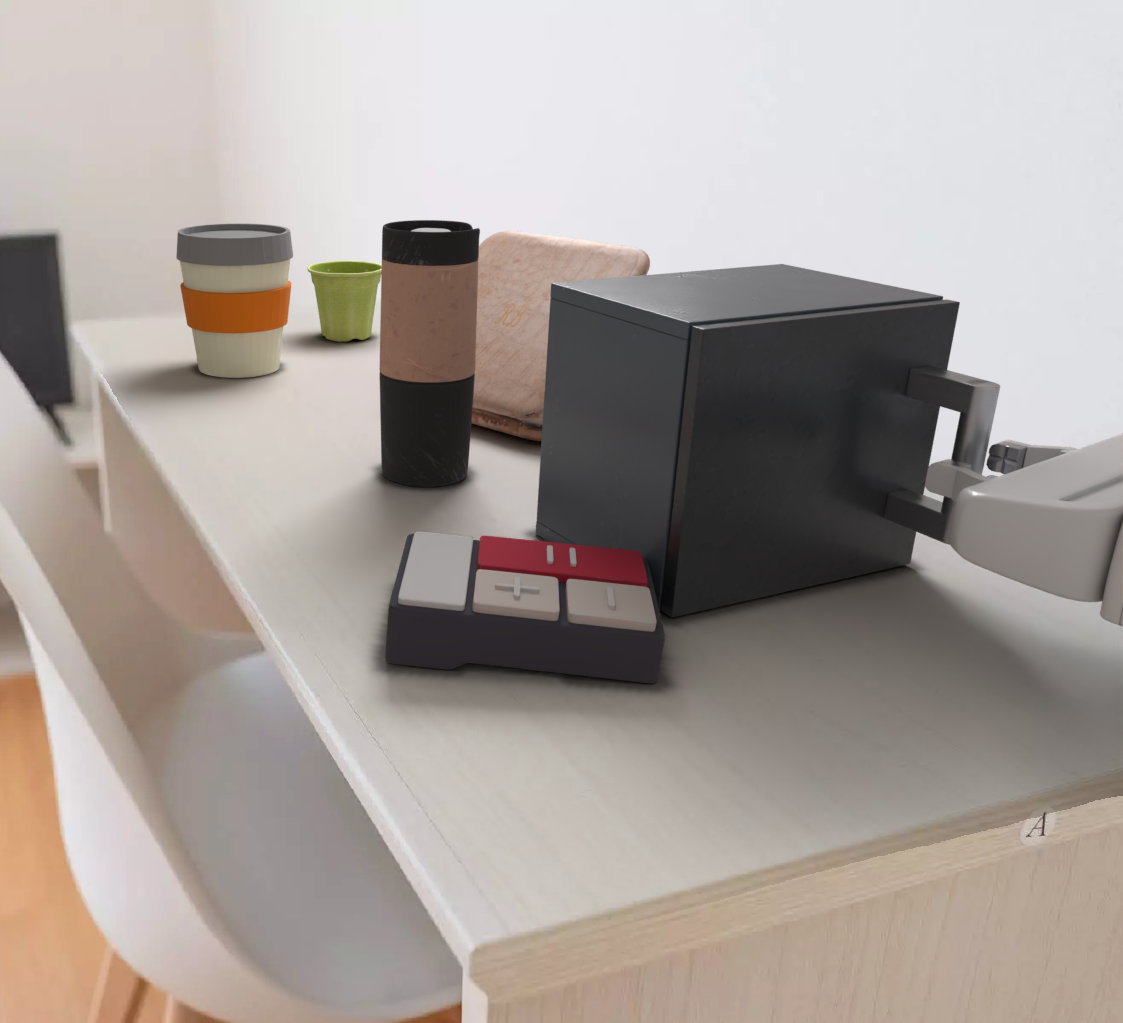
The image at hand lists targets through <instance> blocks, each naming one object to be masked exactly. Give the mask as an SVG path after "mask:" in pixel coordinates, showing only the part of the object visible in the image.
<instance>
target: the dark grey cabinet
mask: <svg viewBox="0 0 1123 1023" xmlns="http://www.w3.org/2000/svg"><path fill="white" fill-rule="evenodd" d="M550 297H551V299H550V313H549V329H548V345H547V361H546V377H545V393H544V409H543V425H542V441H540V442H541V444H540V446H541V447H540V459H539V474H538V490H537V492H538V494H537V506H536V520H535V535H537V536H538V537H540V538H542V539H543V540H544V541H545V542H554V543H564V544H574V545H584V546H593V547H603V548H613V549H622V550H632V551H639V552H641V554H642V557H643V558H645V559H647V561H648V564H649V568H650V573H651V577H652V581H653V586H654V590H655V594H656V599H657V603H658V607H659V611H660V612H662V603H663V594H664V585H665V575H666V566H667V557H668V548H669V538H670V529H671V520H672V510H673V501H674V492H675V482H676V473H677V464H678V455H679V445H680V436H681V427H682V417H683V408H684V399H685V389H686V380H687V371H688V361H689V352H690V343H691V334H692V326H699V325H709V324H718V323H728V322H737V321H747V320H756V319H766V318H775V317H785V316H794V315H804V314H813V313H823V312H832V311H842V310H851V309H861V308H870V307H880V306H889V305H899V304H908V303H918V302H927V301H937V300H944V296H943V295H939V294H935V293H934V294H933V293H929V292H924V291H919V290H914V289H910V288H904V287H900V286H899V287H898V286H894V285H889V284H884V283H879V282H875V281H869V280H864V279H859V278H854V277H849V276H844V275H841V274H835V273H831V272H830V273H829V272H824V271H819V270H814V269H810V268H805V267H801V266H800V267H799V266H795V265H790V264H785V263H778V264H767V265H754V266H753V265H752V266H741V267H729V268H728V267H727V268H718V269H717V268H716V269H715V268H714V269H705V270H704V269H703V270H695V271H694V270H692V271H691V270H690V271H681V272H668V273H658V274H657V273H655V274H647V275H642V276H629V277H617V278H605V279H593V280H581V281H569V282H556V283H551V294H550Z"/></svg>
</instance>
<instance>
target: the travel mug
mask: <svg viewBox="0 0 1123 1023" xmlns="http://www.w3.org/2000/svg"><path fill="white" fill-rule="evenodd" d="M381 234H382V235H381V265H382V271H381V279H380V282H381V283H380V321H379V322H380V323H379V324H380V326H379V332H380V333H379V410H380V411H379V412H380V413H379V416H380V418H379V419H380V454H381V456H380V458H381V472H382V475H383V477H385V478H386V479H387V480H389V481H391V482H393V483H397V484H401V485H405V486H411V487H424V488H427V487H428V488H431V487H433V488H434V487H442V486H443V487H444V486H449V485H450V486H451V485H453V484H458V483H459V482H461V481H462V480H464V479H465V478H466V477H467V476H468V470H469V463H470V462H469V460H470V449H471V448H470V447H471V434H472V423H471V422H472V408H473V394H474V380H475V374H474V373H475V359H476V326H477V293H478V261H479V260H478V258H479V245H480V234H481V229H480V227H475V228H473V226H472V224H471V223H468V222H464V221H457V220H444V219H443V220H442V219H441V220H440V219H419V220H418V219H414V220H399V221H392V222H391V221H390V222H387V223H385V224H383V225H382V230H381Z"/></svg>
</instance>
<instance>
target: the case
mask: <svg viewBox="0 0 1123 1023" xmlns="http://www.w3.org/2000/svg"><path fill="white" fill-rule="evenodd" d="M478 260H479V261H478V293H477V326H476V359H475V373H474V374H475V380H474V394H473V408H472V422H471V425H476V426H479V427H482V428H486V429H489V430H493V431H497V432H501V433H504V434H508V435H511V436H514V437H518V438H522V439H526V440H530V441H536V442H541V441H542V425H543V409H544V393H545V377H546V361H547V345H548V329H549V313H550V299H551V297H550V294H551V283H556V282H569V281H581V280H593V279H605V278H617V277H629V276H642V275H648V273H649V271H650V267H651V259H650V257H649V255H648V254H647V251H645V250H643V249H640V248H638V247H633V246H628V245H622V244H621V245H620V244H612V243H607V242H600V241H595V240H590V239H583V238H575V237H568V236H561V235H560V236H559V235H549V234H538V233H532V232H523V231H518V230H517V231H515V230H503V231H497V232H495V233H493V234H491V235H489V236H488V237H487V238H485V239H484V240H483V241H482V242H481V243H479V258H478Z"/></svg>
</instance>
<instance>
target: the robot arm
mask: <svg viewBox="0 0 1123 1023" xmlns="http://www.w3.org/2000/svg"><path fill="white" fill-rule="evenodd" d="M971 466H972V465H969V464H965V463H962V462H955V461H954V460H951V458H947V459H943V460H939V461H936V462H933V463H931V464H929V467H928V470H927V476H926V481H925V489H926V490H927V491H928V492H930V493H932V494H935V495H939V496H941V497H944V496H945V497H948V498H951V499H952V500H953V501H955V502H956V507H955V511H954V516H953V520H952V526H951V532H950V540H949V542H950V547H951V548H952V550H953V551H954V552H956V554H958V555H959V556H960V557H961V558H962V559H963V560H965V561H967V562H969V563H970V564H972V565H974V566H977V567H980V568H981V569H984V570H987V571H989V572H991V573H994V574H997V575H998V576H1001V577H1004V578H1006V579H1010V580H1011V581H1014V582H1017V583H1020V584H1022V585H1025V586H1027V587H1030V588H1033V589H1037V590H1039V591H1042V592H1044V593H1047V594H1049V595H1053V596H1056V597H1059V598H1063V599H1067V600H1071V601H1075V602H1080V603H1081V602H1082V603H1100V602H1101V606H1100V611H1099V616H1100V617H1101V618H1102V619H1103V620H1104V621H1107V622H1109V623H1111V624H1114V625H1117V626H1120V627H1123V433H1120V434H1117V435H1114V436H1111V437H1109V438H1105V439H1103V440H1100V441H1097V442H1094V443H1092V444H1088V445H1085V446H1083V447H1080V448H1077V447H1072V446H1060V445H1059V446H1058V445H1043V444H1042V445H1041V444H1030V443H1025V442H1021V441H1016V440H1012V439H1005V440H1001V441H1000V442H997V443H994V444H992V445H990V447H989V448H988V457H987V459H986V467H987V469H988V470H989V471H991V472H994V473H1000V474H1002V475H999V476H997V475H994V474H989V475H984V474H982V475H981V474H979V473H976V472H974V471H972V470H971Z"/></svg>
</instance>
